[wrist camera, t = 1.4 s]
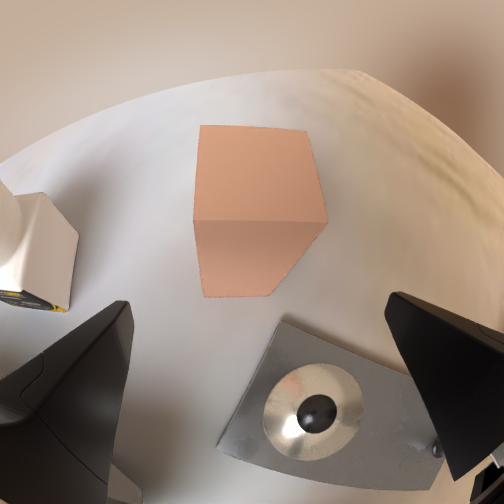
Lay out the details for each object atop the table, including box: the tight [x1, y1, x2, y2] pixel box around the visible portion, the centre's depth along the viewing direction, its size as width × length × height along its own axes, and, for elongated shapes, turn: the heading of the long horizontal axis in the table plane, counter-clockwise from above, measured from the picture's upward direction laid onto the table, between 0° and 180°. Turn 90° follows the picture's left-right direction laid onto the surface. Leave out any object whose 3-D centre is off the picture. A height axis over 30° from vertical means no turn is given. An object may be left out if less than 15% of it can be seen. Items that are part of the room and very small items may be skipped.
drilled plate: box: [216, 321, 445, 491], centre depth 17 cm, size 11×23×1 cm, turn 64°
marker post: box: [193, 125, 328, 297], centre depth 16 cm, size 5×5×12 cm
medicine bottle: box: [0, 180, 79, 312], centre depth 14 cm, size 7×7×12 cm
